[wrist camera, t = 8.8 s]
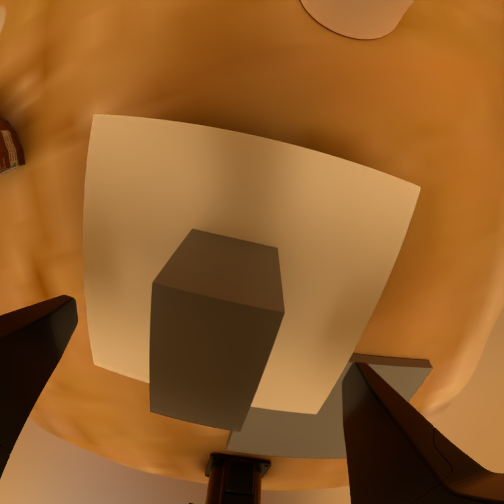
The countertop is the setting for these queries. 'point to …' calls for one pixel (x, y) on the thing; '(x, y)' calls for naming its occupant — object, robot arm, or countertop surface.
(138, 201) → the lid
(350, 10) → the cosmetic bottle
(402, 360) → the mat
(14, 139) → the food container
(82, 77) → the countertop surface
